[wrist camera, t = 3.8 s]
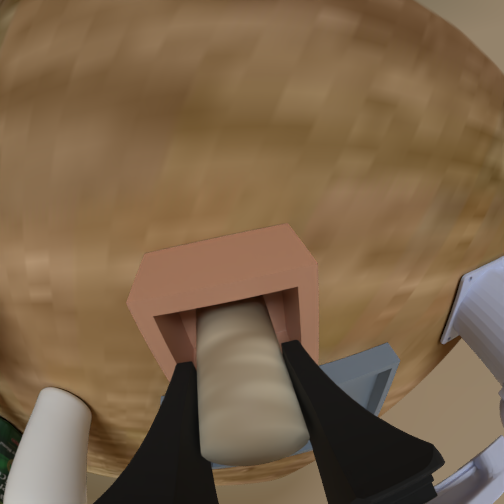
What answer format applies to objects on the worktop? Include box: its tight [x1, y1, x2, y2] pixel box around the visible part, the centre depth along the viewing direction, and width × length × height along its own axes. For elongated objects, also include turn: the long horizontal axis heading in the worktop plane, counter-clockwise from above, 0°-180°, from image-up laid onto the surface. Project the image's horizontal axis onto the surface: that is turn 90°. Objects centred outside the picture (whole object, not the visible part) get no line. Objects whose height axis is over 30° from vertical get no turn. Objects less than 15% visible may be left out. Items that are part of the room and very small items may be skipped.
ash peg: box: [196, 295, 310, 466], centre depth 11 cm, size 4×4×8 cm
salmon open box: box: [126, 223, 319, 382], centre depth 13 cm, size 7×7×4 cm
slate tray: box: [161, 342, 400, 469], centre depth 21 cm, size 18×13×2 cm
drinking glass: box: [3, 387, 92, 504], centre depth 11 cm, size 7×7×15 cm
